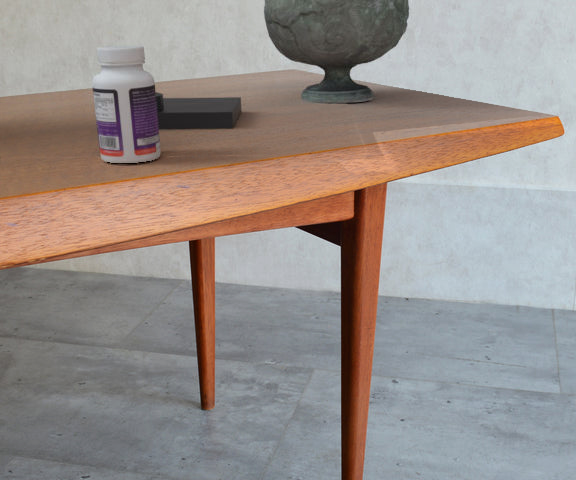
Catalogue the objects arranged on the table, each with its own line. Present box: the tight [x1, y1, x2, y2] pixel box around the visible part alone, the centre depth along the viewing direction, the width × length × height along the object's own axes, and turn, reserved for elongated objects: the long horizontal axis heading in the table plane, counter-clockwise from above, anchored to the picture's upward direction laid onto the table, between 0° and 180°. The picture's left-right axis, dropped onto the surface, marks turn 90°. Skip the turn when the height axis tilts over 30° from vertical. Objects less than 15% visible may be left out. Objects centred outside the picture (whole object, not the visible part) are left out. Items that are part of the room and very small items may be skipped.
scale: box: [155, 91, 242, 130], centre depth 85 cm, size 14×12×4 cm
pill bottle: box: [91, 45, 162, 164], centre depth 65 cm, size 5×5×10 cm
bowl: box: [263, 0, 410, 104], centre depth 100 cm, size 20×19×15 cm
